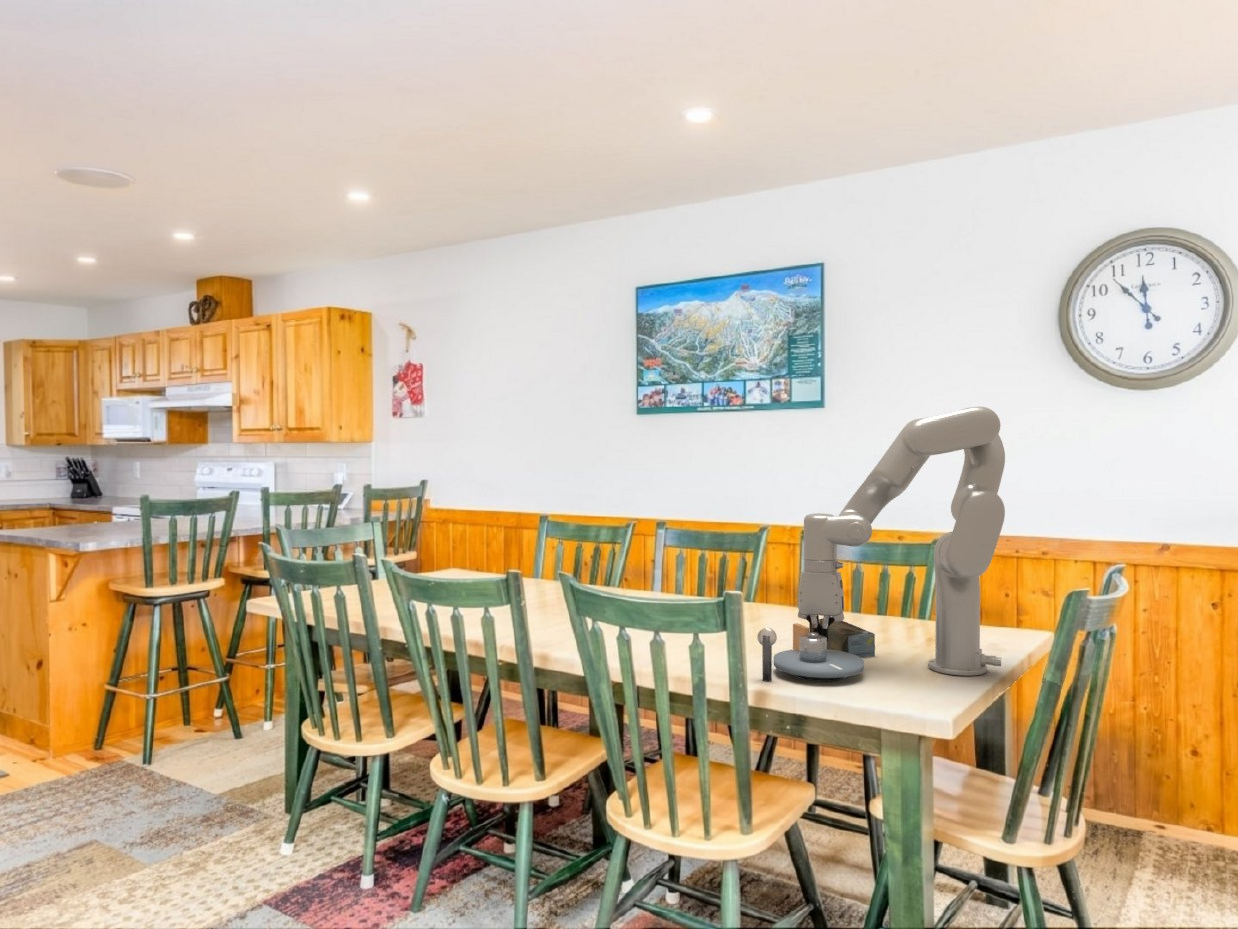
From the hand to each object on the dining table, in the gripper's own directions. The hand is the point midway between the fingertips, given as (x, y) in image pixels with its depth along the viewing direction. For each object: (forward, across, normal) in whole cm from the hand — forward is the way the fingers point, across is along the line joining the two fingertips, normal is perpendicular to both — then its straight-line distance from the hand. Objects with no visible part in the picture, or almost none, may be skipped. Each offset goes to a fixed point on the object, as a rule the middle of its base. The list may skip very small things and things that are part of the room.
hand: (821, 644), depth 203 cm
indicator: (+5, +8, +18) cm, 20 cm away
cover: (+2, 0, +9) cm, 9 cm away
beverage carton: (+5, -1, -18) cm, 18 cm away
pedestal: (+5, -1, +8) cm, 9 cm away
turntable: (+3, -1, +8) cm, 9 cm away
